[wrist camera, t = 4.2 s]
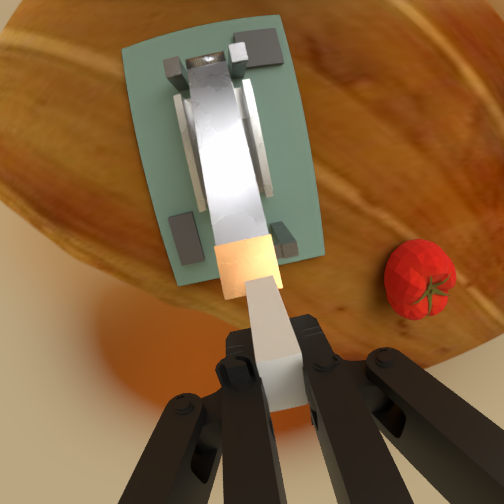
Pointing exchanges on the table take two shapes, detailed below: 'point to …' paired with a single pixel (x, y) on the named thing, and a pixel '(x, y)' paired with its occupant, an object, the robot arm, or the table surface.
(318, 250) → the board
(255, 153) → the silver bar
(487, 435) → the robot arm
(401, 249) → the tomato
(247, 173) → the silver flat strip
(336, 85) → the table surface
